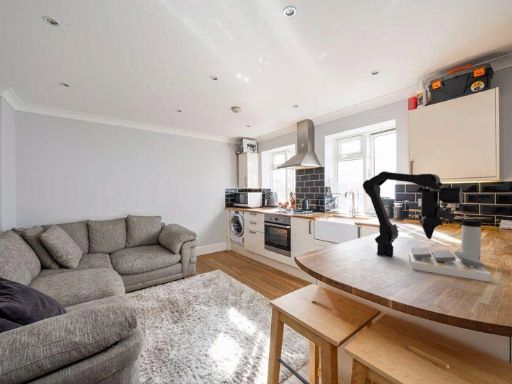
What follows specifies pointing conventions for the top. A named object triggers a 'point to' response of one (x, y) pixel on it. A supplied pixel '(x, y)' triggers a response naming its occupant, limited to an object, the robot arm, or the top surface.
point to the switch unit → (449, 268)
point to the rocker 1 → (420, 252)
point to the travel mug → (471, 237)
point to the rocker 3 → (468, 259)
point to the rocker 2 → (443, 255)
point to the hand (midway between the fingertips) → (428, 238)
